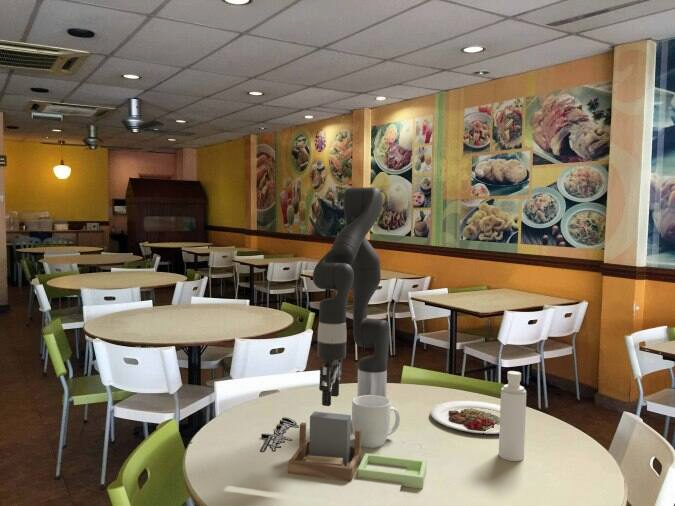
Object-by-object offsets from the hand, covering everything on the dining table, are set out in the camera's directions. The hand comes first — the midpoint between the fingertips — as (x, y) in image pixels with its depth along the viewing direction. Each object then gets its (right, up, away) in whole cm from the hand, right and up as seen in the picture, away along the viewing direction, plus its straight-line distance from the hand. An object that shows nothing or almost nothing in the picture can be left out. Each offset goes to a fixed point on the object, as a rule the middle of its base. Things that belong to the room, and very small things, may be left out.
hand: (330, 400), depth 146 cm
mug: (+12, -17, +14) cm, 25 cm away
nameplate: (-16, -16, +19) cm, 29 cm away
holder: (+16, -18, -5) cm, 24 cm away
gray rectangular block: (0, -16, +1) cm, 16 cm away
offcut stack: (-2, -16, -6) cm, 17 cm away
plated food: (+47, -17, +37) cm, 62 cm away
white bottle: (+50, -18, +8) cm, 54 cm away
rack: (-1, -17, -2) cm, 17 cm away
